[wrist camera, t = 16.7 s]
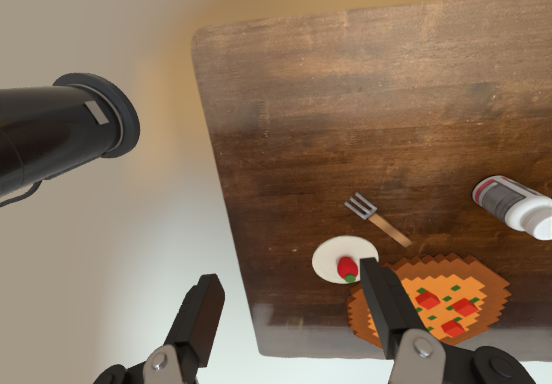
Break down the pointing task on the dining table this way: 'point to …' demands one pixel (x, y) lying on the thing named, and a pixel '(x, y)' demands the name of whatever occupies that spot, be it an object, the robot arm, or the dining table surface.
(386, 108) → the dining table surface
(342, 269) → the strawberry
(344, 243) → the plate
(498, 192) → the pill bottle
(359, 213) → the fork
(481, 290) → the pizza
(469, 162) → the dining table surface
